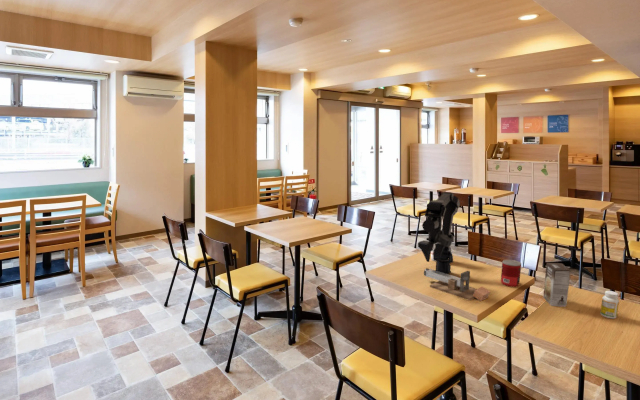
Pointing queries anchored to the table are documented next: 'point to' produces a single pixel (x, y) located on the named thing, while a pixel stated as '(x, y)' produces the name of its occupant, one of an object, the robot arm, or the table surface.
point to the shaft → (441, 276)
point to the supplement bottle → (609, 304)
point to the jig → (461, 291)
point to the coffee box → (556, 284)
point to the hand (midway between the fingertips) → (433, 259)
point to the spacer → (481, 293)
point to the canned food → (510, 273)
